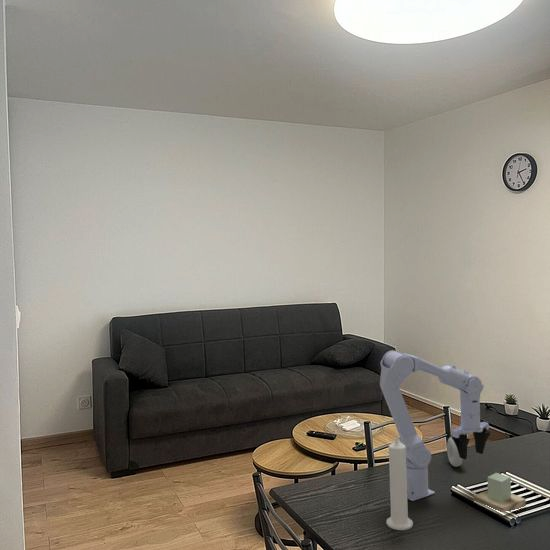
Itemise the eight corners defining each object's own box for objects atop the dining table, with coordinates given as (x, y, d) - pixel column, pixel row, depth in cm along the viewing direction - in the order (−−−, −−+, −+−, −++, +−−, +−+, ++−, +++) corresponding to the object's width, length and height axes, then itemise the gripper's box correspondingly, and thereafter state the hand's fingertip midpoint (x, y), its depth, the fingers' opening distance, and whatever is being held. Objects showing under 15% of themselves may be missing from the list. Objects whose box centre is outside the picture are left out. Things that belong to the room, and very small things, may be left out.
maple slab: (502, 518, 158) (502, 508, 158) (473, 505, 167) (473, 495, 167) (525, 509, 163) (525, 499, 163) (496, 496, 172) (496, 487, 172)
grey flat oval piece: (464, 471, 190) (464, 441, 190) (454, 471, 191) (453, 442, 190) (455, 460, 200) (455, 432, 200) (446, 460, 201) (445, 432, 200)
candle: (394, 515, 161) (391, 428, 160) (417, 522, 156) (414, 432, 155) (381, 525, 156) (378, 435, 154) (405, 533, 151) (402, 440, 150)
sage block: (502, 502, 161) (501, 481, 161) (487, 497, 165) (487, 477, 165) (511, 497, 164) (510, 477, 164) (496, 492, 168) (496, 472, 167)
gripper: (464, 420, 171) (465, 464, 172) (496, 411, 179) (497, 454, 179) (446, 414, 177) (447, 457, 178) (478, 406, 185) (479, 448, 185)
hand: (471, 455), depth 179 cm, fingers open, 7 cm apart
